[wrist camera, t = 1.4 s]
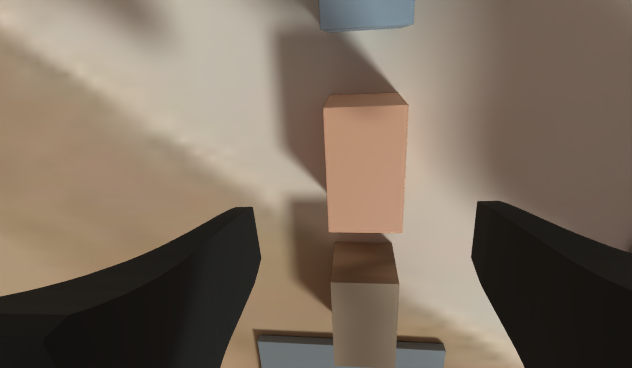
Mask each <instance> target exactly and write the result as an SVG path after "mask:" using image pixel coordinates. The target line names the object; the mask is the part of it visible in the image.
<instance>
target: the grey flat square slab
mask: <svg viewBox="0 0 632 368" xmlns="http://www.w3.org/2000/svg"><path fill="white" fill-rule="evenodd" d="M258 347H259V354H260V360H261V366H262V368H369V367H351V366H334V347H333V338H312V337H291V336H270V335H260V336H259V339H258ZM444 359H445V347H444V344H437V343H416V342H396V362H395V368H443V367H444Z"/></svg>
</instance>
